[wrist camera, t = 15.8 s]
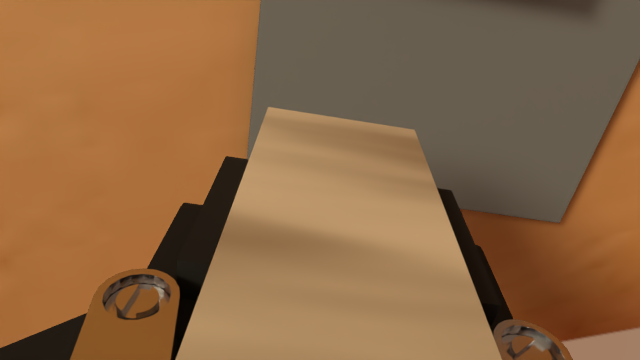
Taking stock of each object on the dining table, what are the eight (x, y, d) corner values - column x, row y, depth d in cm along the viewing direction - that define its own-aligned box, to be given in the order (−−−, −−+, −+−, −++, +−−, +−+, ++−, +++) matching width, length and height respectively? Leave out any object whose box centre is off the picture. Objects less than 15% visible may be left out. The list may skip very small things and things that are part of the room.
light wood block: (382, 246, 14) (474, 884, 5) (255, 228, 14) (91, 852, 5) (414, 129, 13) (671, 804, 3) (268, 106, 12) (30, 750, 3)
